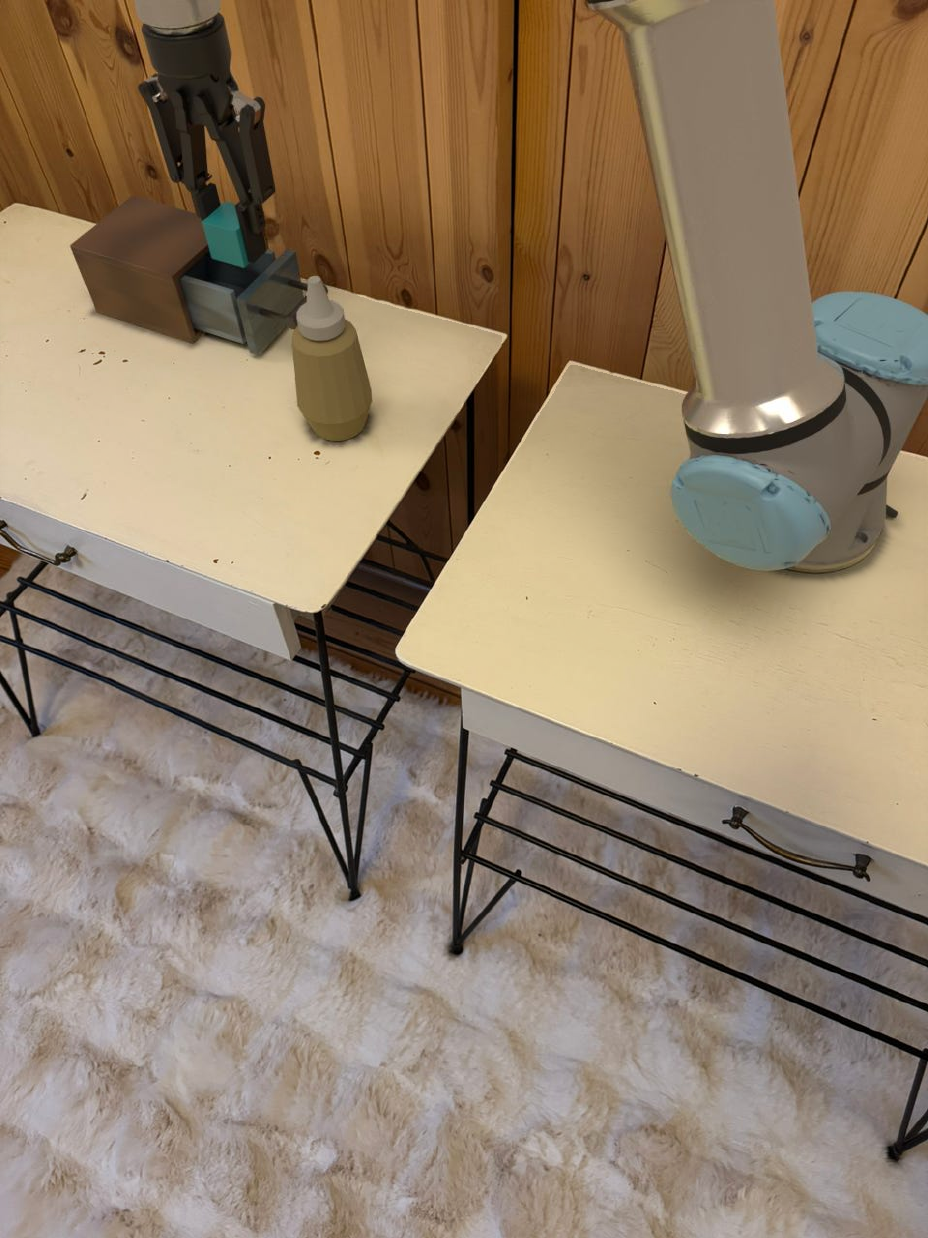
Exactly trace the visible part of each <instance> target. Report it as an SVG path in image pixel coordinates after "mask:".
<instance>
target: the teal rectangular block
mask: <svg viewBox="0 0 928 1238" xmlns="http://www.w3.org/2000/svg"><path fill="white" fill-rule="evenodd" d="M236 204H237V203H233V202H229V201H223V202H222V204H221V206H219V207H218V208H217V209H216V210H215V211H214V212H213V213H211V214H210V215H209V216H208V217H207V218H206V219H204V220H203V221H202V225H203V229H204V232H205V236H206V239H207V243H208V247H209V250H210V254H211V258H212V259H215V260H218V261H222V262H225V263H229V264H232V265H236V266H239V267H242V268H245V267H246V266H247V265H248V264H249V263H250V262H248V258H247V254H246V250H245V246H244V242H243V237H242V233H241V229H240V226H239V222H238V218H237V214H236V210H235V205H236Z"/></svg>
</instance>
